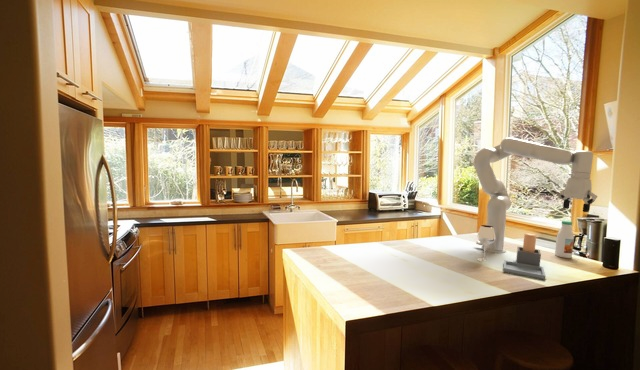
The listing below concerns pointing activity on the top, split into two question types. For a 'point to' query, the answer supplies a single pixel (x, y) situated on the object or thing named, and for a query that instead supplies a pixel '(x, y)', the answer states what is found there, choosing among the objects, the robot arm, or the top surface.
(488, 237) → the wineglass
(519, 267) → the tray
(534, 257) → the grey open box
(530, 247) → the tan tall block
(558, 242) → the milk bottle
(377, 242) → the top surface
